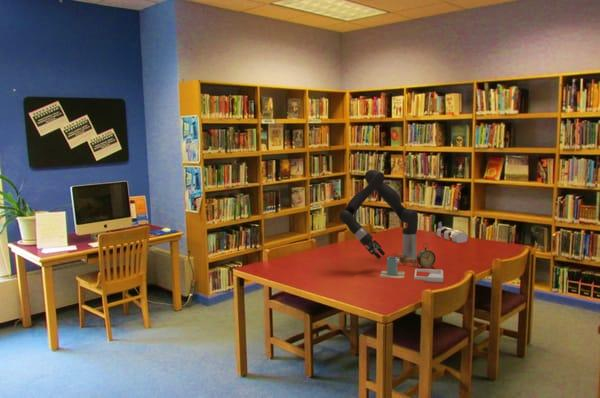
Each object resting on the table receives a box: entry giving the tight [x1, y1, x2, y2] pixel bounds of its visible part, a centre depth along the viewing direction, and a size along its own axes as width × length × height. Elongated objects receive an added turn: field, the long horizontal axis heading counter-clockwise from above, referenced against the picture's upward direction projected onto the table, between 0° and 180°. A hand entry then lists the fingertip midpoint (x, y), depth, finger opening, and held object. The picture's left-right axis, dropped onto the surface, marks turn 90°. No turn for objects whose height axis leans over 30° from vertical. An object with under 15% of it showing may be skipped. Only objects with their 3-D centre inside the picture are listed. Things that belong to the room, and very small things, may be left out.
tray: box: [413, 268, 444, 284], centre depth 291 cm, size 16×16×3 cm
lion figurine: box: [396, 253, 420, 268], centre depth 312 cm, size 15×5×9 cm, turn 67°
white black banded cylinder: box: [436, 221, 469, 244], centre depth 385 cm, size 25×10×13 cm, turn 18°
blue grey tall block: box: [386, 256, 401, 276], centre depth 295 cm, size 5×6×10 cm
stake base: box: [379, 269, 406, 279], centre depth 296 cm, size 14×14×10 cm
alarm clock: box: [416, 242, 436, 269], centre depth 309 cm, size 11×5×16 cm, turn 105°
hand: (382, 256), depth 297 cm, fingers open, 8 cm apart
